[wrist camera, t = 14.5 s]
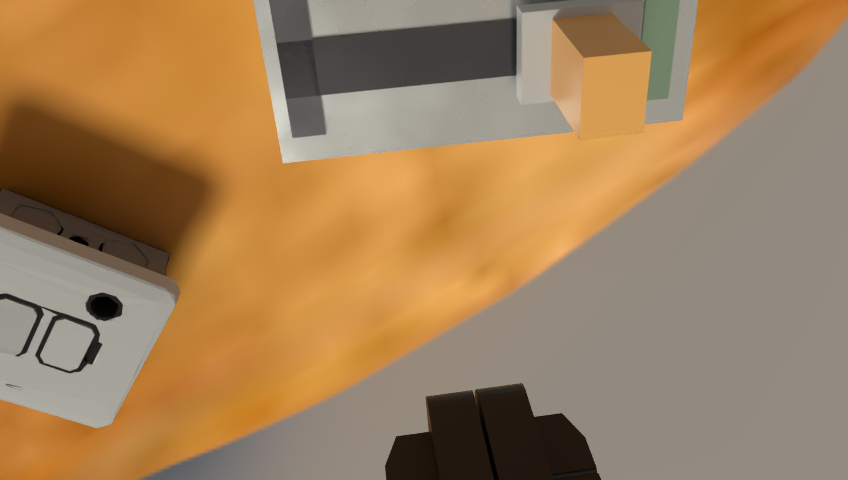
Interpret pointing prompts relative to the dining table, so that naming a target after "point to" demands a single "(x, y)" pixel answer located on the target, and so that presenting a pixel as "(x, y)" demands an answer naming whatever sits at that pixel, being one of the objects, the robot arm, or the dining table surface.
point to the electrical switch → (75, 311)
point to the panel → (428, 73)
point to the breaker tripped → (585, 63)
